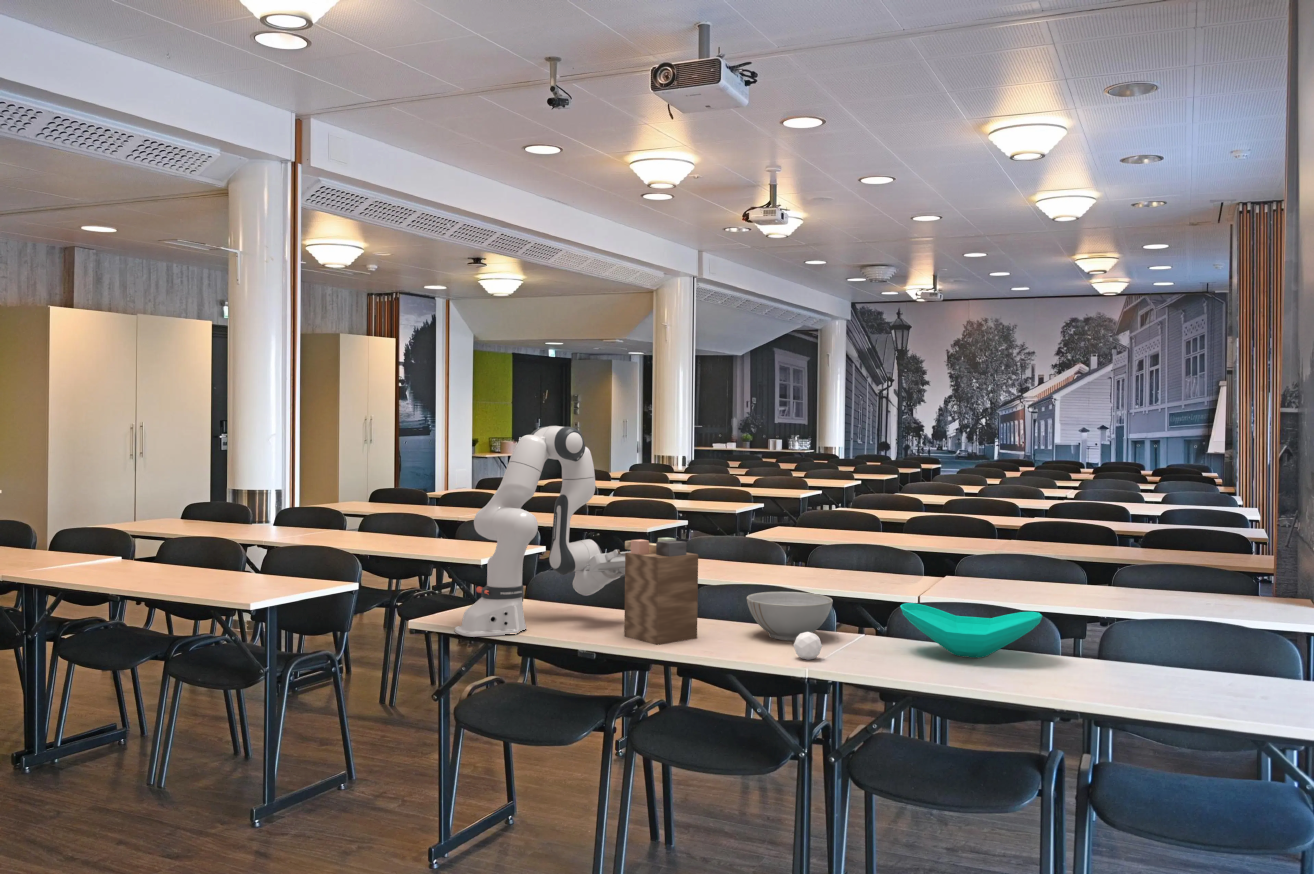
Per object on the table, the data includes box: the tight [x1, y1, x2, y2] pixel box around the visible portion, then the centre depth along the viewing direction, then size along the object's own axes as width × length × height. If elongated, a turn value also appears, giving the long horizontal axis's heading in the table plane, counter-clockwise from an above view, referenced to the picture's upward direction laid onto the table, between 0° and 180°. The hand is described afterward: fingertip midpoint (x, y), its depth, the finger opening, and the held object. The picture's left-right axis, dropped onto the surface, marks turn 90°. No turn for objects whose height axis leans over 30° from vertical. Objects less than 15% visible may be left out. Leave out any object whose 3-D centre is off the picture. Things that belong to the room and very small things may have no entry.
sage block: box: [657, 537, 677, 542], centre depth 331 cm, size 4×4×4 cm
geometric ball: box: [793, 632, 823, 661], centre depth 297 cm, size 8×8×8 cm
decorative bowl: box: [746, 591, 834, 641], centre depth 329 cm, size 27×27×12 cm
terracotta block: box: [630, 539, 650, 554], centre depth 324 cm, size 4×4×4 cm
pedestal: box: [623, 551, 699, 646], centre depth 325 cm, size 16×16×26 cm
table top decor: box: [899, 602, 1043, 659], centre depth 304 cm, size 40×28×13 cm
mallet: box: [624, 540, 687, 557], centre depth 328 cm, size 24×7×4 cm, turn 40°
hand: (629, 550), depth 337 cm, fingers open, 8 cm apart
